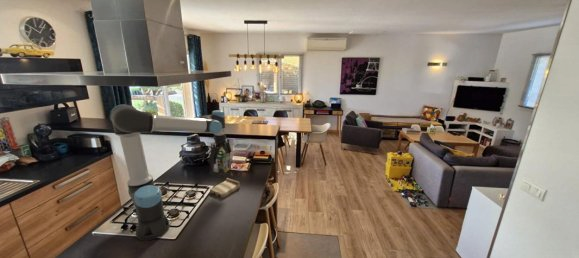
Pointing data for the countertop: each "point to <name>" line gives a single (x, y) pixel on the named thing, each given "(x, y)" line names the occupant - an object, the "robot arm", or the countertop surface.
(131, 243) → the countertop surface
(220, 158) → the chalk box
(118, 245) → the countertop surface
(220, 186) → the dock
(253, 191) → the countertop surface
